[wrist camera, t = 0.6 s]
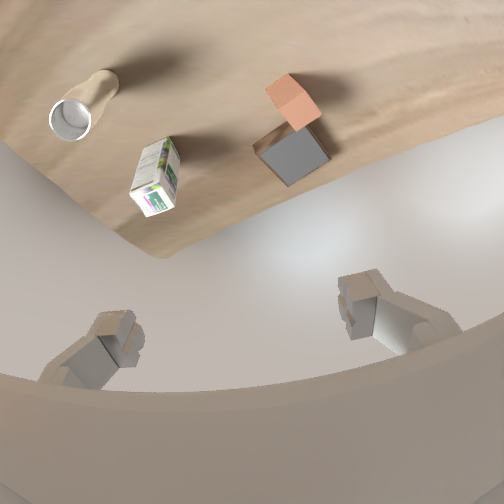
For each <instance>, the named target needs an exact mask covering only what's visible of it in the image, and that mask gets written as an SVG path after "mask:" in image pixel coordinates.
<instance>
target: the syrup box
mask: <svg viewBox="0 0 504 504" xmlns="http://www.w3.org/2000/svg"><path fill="white" fill-rule="evenodd" d="M179 164H180V157H179V155H178V153H177V150H176V149H175V147H174V145H173V143H172V141H171V139H170V137H167V138H164V139H162V140H160V141H158V142H155V143H153V144H151V145H149V146H147V147H145V148H144V149H143V152H142V155H141V158H140V161H139V164H138V167H137V171H136V174H135V177H134V180H133V184H132V187H131V191H130V196H131V197H132V198H133V200H134V201H135V202H136V204H137V206H138V207H139V208H140V209H141V211H142V212H143V213H144V215H145V216H146V217H148V216H151V215H155V214H158V213H161V212H163V211H166V210H168V209H171V208H173V207H175V201H176V191H177V182H178V173H179Z"/></svg>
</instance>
